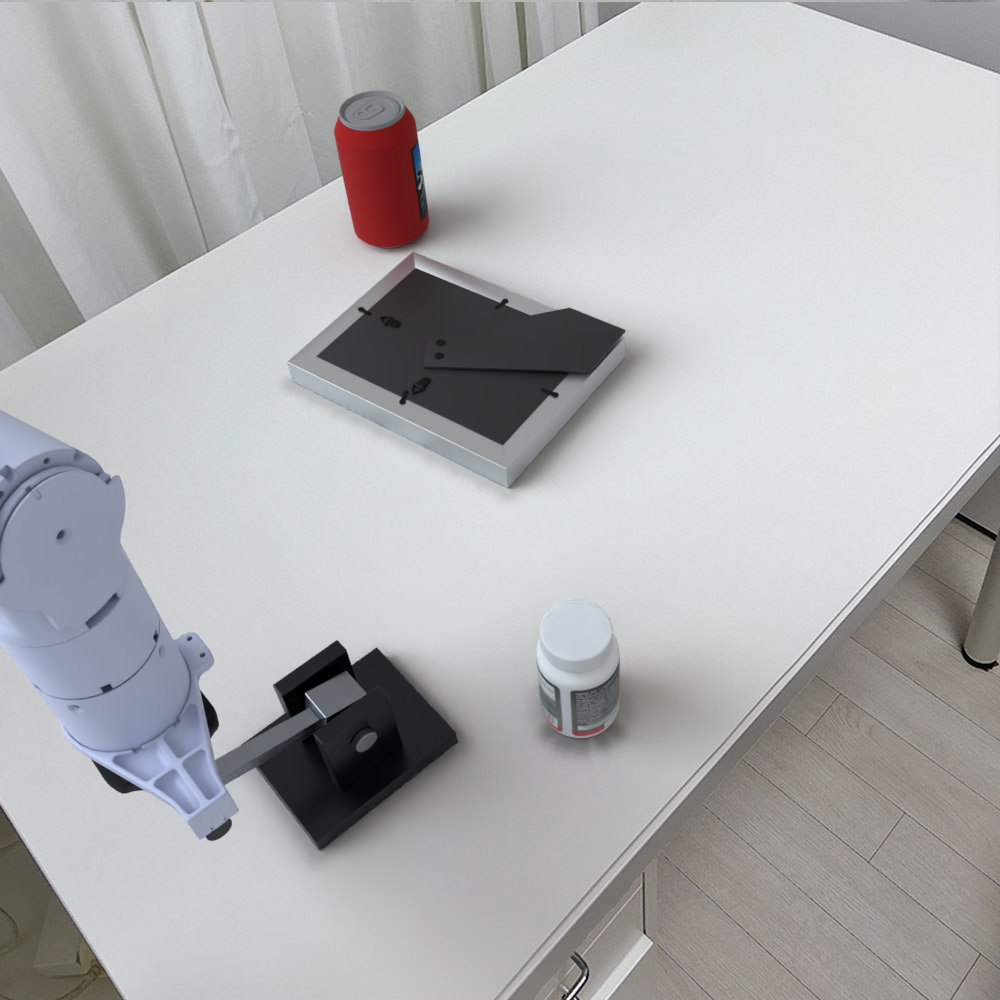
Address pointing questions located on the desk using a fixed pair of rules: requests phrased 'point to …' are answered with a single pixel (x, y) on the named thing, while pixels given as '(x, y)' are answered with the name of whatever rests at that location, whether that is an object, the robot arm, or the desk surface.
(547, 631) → the pill bottle
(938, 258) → the desk surface
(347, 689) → the tap lever
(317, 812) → the bracket
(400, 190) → the beverage can
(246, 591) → the desk surface
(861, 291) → the desk surface
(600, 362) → the picture frame
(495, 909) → the desk surface
